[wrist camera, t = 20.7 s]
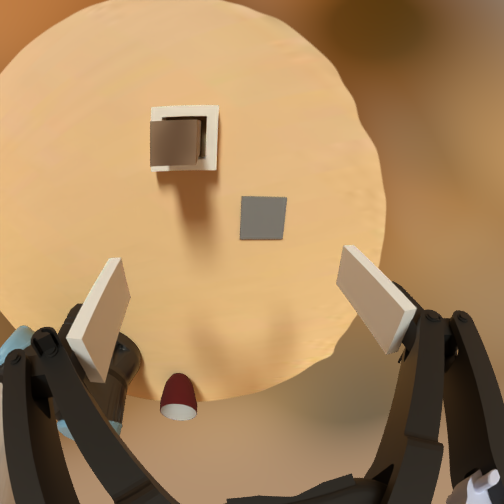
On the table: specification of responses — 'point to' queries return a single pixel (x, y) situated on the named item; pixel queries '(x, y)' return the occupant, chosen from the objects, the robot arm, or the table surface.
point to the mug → (178, 398)
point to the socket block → (211, 133)
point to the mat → (262, 217)
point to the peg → (175, 142)
